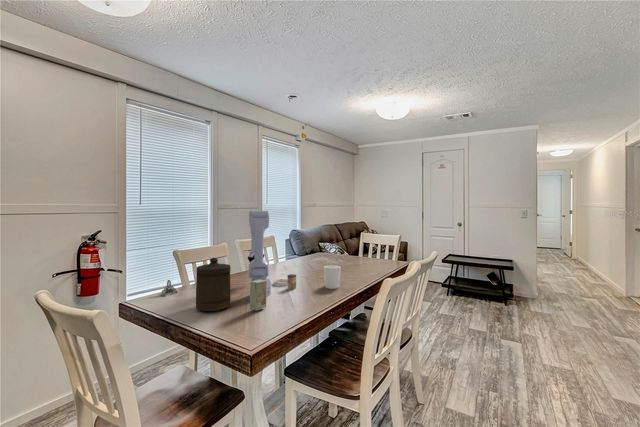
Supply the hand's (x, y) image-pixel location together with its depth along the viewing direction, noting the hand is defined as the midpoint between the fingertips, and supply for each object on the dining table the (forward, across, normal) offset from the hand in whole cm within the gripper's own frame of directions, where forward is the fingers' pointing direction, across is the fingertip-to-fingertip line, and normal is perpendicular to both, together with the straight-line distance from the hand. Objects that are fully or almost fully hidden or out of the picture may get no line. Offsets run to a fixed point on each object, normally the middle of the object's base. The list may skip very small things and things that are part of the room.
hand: (256, 267), depth 172 cm
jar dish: (+10, -5, +14) cm, 18 cm away
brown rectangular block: (+10, +3, +23) cm, 25 cm away
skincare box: (+11, +37, +19) cm, 43 cm away
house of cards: (+11, +26, -38) cm, 48 cm away
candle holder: (+11, -6, +44) cm, 46 cm away
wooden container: (+11, +39, -2) cm, 40 cm away
